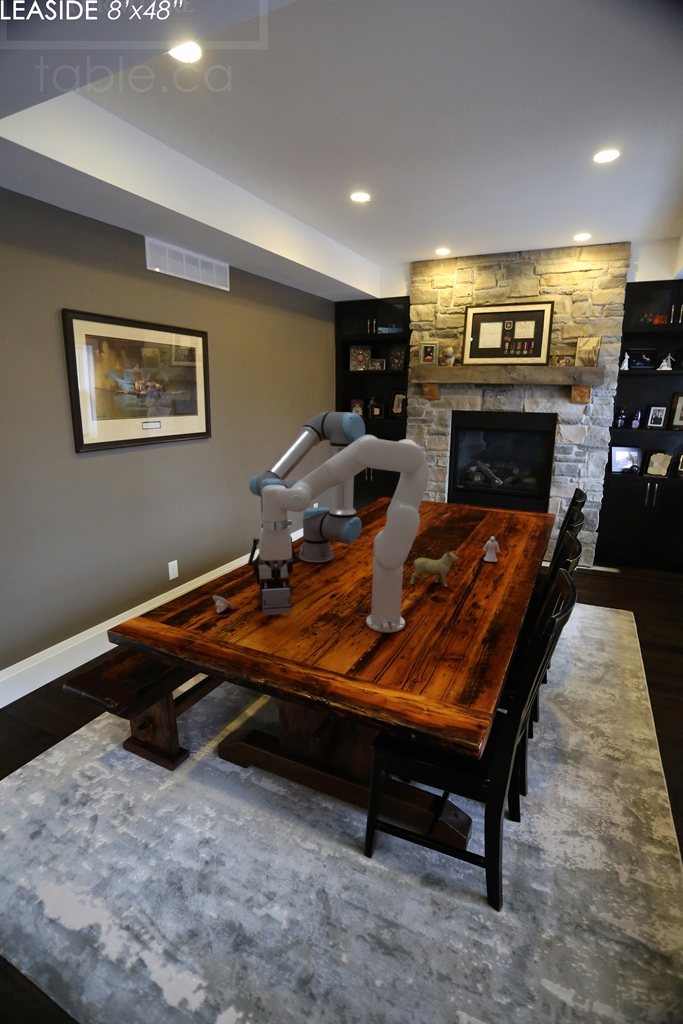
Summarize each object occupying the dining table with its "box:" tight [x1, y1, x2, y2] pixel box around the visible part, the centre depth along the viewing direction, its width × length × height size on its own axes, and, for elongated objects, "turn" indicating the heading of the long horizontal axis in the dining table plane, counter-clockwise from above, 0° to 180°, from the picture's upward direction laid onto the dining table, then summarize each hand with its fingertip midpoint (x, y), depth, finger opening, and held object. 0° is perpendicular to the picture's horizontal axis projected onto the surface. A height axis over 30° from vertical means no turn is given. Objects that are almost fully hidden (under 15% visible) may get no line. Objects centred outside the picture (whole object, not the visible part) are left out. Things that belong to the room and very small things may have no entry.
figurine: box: [482, 535, 501, 563], centre depth 223 cm, size 8×8×12 cm
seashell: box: [212, 594, 235, 614], centre depth 169 cm, size 8×5×8 cm
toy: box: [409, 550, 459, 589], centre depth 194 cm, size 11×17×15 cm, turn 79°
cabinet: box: [258, 563, 291, 609], centre depth 179 cm, size 14×10×11 cm
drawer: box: [262, 580, 292, 616], centre depth 168 cm, size 18×9×9 cm, turn 11°
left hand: (273, 582), depth 181 cm, fingers closed on cabinet, 10 cm apart
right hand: (276, 579), depth 161 cm, fingers closed
